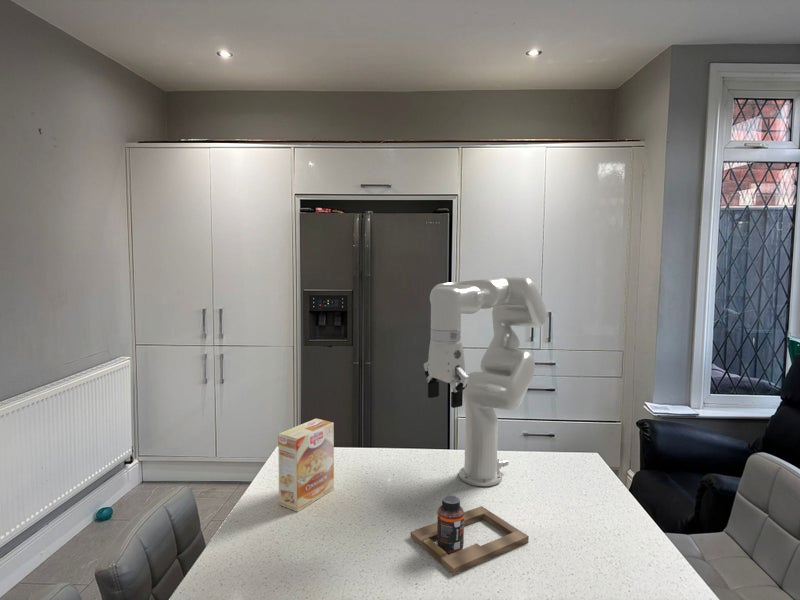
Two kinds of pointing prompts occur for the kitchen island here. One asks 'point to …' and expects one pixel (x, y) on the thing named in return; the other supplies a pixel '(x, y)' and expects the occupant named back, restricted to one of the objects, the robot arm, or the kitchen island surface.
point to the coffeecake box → (306, 463)
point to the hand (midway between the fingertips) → (444, 401)
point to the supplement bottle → (450, 525)
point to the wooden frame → (475, 552)
